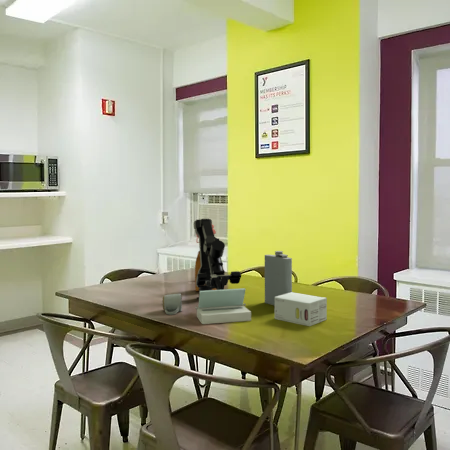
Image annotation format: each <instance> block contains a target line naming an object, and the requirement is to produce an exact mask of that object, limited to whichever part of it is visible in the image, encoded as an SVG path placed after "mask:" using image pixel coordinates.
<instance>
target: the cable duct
mask: <svg viewBox="0 0 450 450" xmlns="http://www.w3.org/2000/svg"><path fill="white" fill-rule="evenodd" d="M194 309H195V310H196V317H197V319H198V320H199V322H200V323H201V324H202V325H210V324H220V323H221V324H222V323H223V324H224V323H236V322H238V323H239V322H250V321H252V311H251V310H250V309H249V308H247V307H246V303H243V306H232V307H217V308H202V309H198V306H195V307H194Z"/></svg>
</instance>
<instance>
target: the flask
mask: <svg viewBox="0 0 450 450" xmlns="http://www.w3.org/2000/svg"><path fill="white" fill-rule="evenodd" d="M292 279H293V258H291V257H288V254H285V253H284V251H282V250H276V251H274V254H264V304H268V305H272V306H275V297H276V296H280V295H283V294H287V293H290V292H293V280H292Z"/></svg>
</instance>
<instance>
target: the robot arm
mask: <svg viewBox="0 0 450 450" xmlns="http://www.w3.org/2000/svg"><path fill="white" fill-rule="evenodd" d="M193 221H194V222H193V229H194V233H195V235H196V234H197V236H198V237H199V238H198V242H199V243H198V244H199V251H200V263H201V267H200V269H199V271H198V274H197V278H196V286H197V287H199V291H198V297H196V299H197V300H199V295H200V291H206V290H212V289H214V288H216V289H217V290H224V289H225V286H227V285H228V282H229V283H230V284H233V285H237V284H240V281H241V278H242V273H241V271H239V270H235V271H230V274H225V272H226V271H225V270H224V263H223V260H222V257H224V256H223V255H224V252H225V247H226V244H225V243H224V242H223V240H220V238H217V237H216V236H215V234H214V233H213V229H214V228H213V229H212V225H213V221H212V219H211V218H201V219H200V218H199V219H196V220H193ZM197 236H196V237H197ZM209 254H210V255H209Z"/></svg>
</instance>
